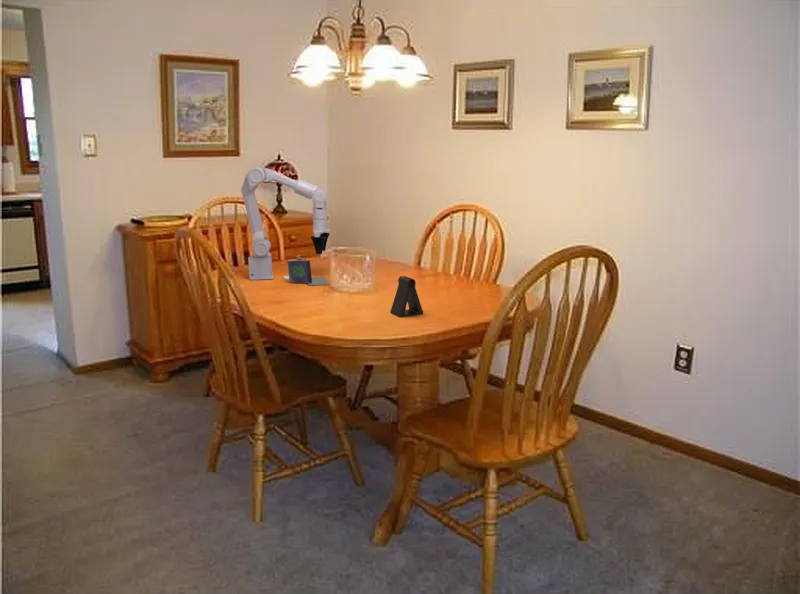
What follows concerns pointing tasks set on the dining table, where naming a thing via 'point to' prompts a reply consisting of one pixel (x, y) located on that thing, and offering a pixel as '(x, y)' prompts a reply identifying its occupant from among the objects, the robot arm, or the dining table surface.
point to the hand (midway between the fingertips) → (320, 252)
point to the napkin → (286, 277)
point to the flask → (299, 270)
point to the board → (318, 281)
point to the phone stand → (406, 298)
